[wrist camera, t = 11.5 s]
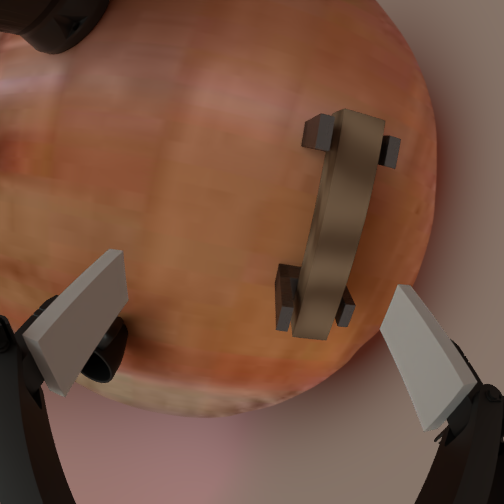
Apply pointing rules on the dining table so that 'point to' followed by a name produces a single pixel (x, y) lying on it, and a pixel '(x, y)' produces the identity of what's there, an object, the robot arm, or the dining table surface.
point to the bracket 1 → (321, 134)
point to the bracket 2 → (285, 296)
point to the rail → (336, 221)
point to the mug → (107, 353)
